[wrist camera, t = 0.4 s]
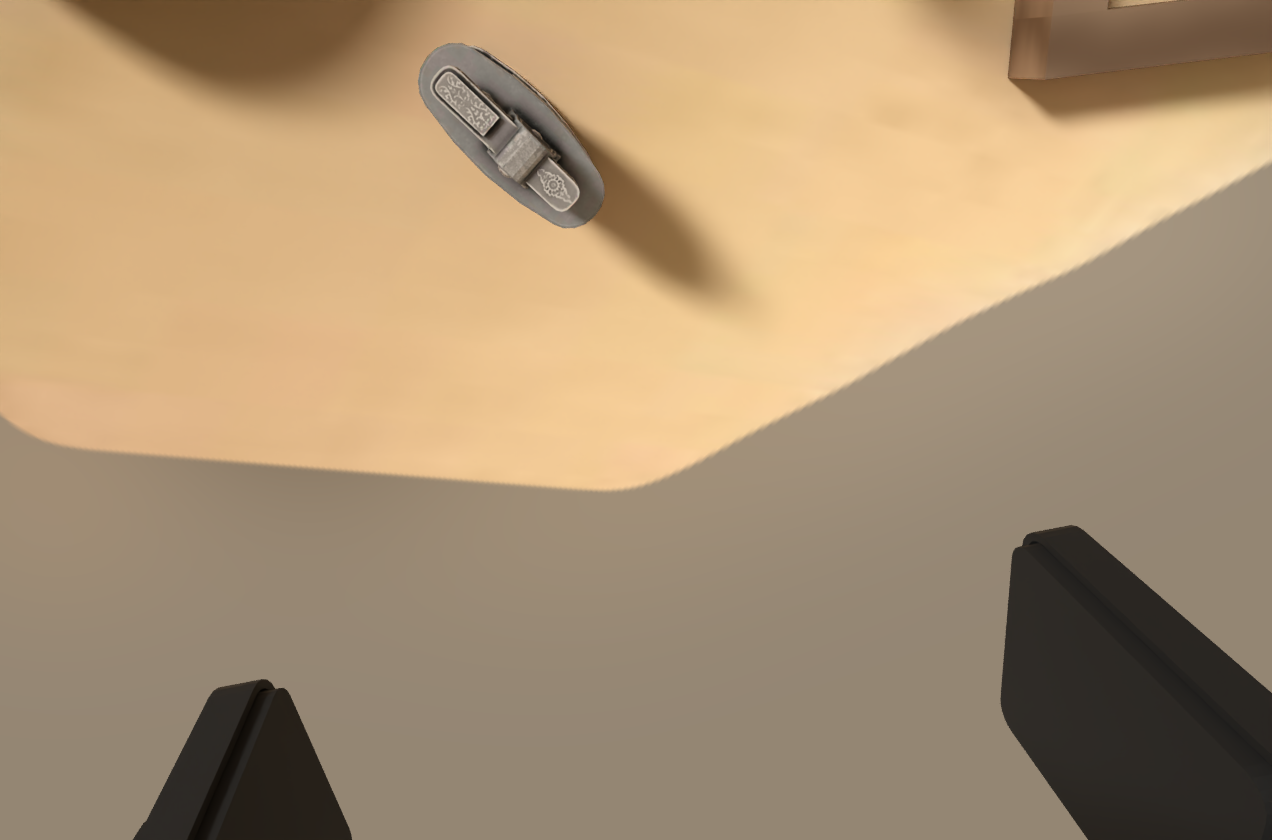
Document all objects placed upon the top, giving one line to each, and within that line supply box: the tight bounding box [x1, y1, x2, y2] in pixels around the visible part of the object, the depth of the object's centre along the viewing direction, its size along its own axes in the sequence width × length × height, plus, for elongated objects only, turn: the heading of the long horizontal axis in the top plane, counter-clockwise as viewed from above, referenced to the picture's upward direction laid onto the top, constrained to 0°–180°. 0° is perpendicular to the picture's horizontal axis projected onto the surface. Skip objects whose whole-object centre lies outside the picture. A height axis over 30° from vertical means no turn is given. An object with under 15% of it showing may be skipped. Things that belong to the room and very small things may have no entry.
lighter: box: [418, 43, 604, 228], centre depth 31 cm, size 8×3×10 cm, turn 46°
